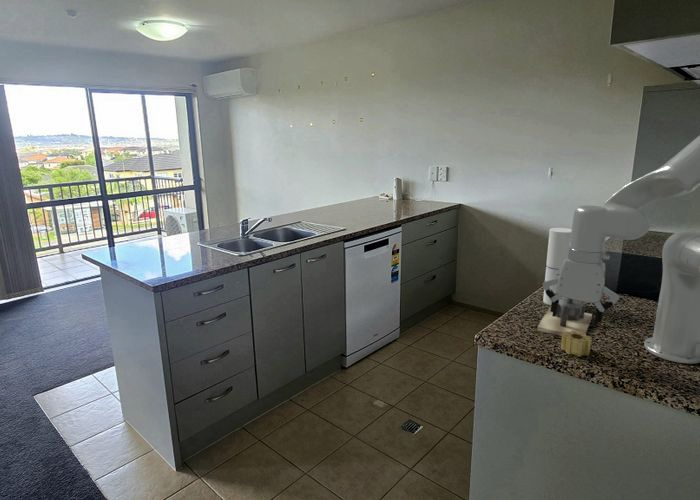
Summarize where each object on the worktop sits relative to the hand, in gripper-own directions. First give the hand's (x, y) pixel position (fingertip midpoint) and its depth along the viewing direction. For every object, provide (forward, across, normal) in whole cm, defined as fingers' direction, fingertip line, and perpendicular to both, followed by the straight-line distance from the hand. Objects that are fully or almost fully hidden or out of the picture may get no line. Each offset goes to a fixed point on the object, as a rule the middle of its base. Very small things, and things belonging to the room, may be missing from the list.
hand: (574, 319), depth 110 cm
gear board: (+9, +4, -17) cm, 19 cm away
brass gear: (+9, -1, -1) cm, 9 cm away
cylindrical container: (+9, +10, -34) cm, 36 cm away
